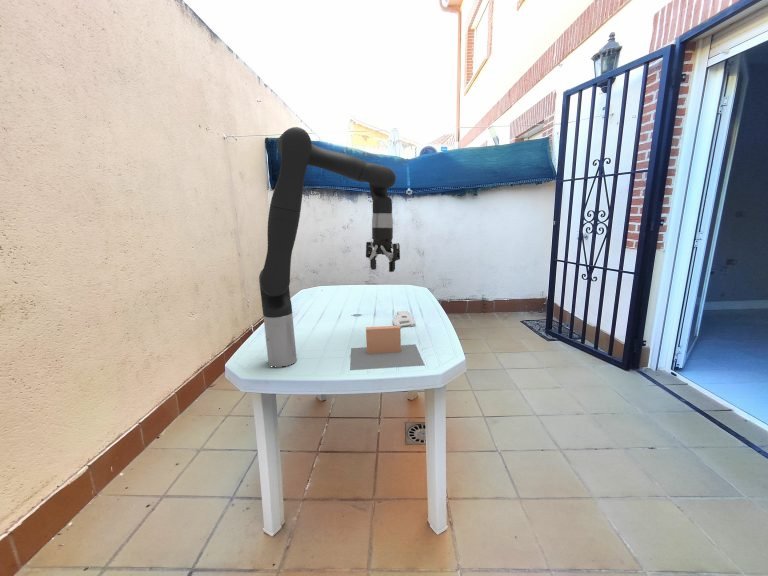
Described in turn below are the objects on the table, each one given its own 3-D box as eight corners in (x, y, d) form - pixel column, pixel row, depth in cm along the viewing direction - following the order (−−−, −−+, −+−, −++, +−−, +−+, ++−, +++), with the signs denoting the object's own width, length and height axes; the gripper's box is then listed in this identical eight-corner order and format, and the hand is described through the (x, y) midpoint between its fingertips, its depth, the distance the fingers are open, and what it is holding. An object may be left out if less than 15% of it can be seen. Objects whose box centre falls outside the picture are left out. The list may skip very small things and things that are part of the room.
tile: (367, 353, 120) (365, 329, 118) (366, 351, 122) (365, 327, 120) (400, 351, 121) (400, 327, 119) (400, 349, 123) (399, 325, 121)
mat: (350, 371, 108) (349, 370, 108) (351, 349, 126) (351, 348, 126) (424, 366, 110) (424, 365, 110) (415, 345, 127) (415, 344, 127)
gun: (389, 309, 162) (409, 308, 163) (389, 316, 163) (409, 315, 164) (395, 324, 145) (418, 322, 146) (395, 331, 146) (418, 330, 147)
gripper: (360, 226, 125) (361, 270, 128) (391, 227, 116) (391, 273, 120) (373, 225, 131) (374, 267, 134) (404, 226, 122) (404, 271, 125)
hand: (382, 270), depth 127 cm, fingers open, 8 cm apart
